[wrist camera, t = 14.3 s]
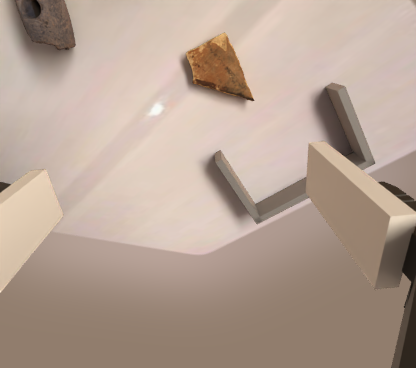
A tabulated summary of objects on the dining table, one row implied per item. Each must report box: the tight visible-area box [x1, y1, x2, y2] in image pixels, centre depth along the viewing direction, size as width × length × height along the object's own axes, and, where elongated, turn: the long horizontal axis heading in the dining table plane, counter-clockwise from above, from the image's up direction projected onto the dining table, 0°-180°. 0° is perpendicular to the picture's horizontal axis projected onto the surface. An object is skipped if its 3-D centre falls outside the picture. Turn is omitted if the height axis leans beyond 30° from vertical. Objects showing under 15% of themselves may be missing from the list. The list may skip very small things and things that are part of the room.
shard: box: [186, 33, 254, 101], centre depth 44 cm, size 11×8×2 cm
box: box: [215, 83, 375, 224], centre depth 49 cm, size 14×22×4 cm, turn 122°
